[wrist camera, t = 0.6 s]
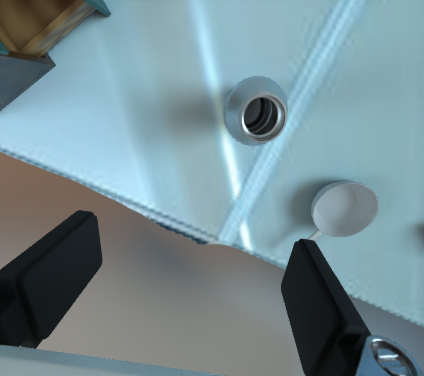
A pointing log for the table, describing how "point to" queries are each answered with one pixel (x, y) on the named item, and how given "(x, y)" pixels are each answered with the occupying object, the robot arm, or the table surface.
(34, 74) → the cabinet
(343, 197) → the small pan
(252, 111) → the silver water bottle
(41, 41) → the drawer
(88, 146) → the table surface
